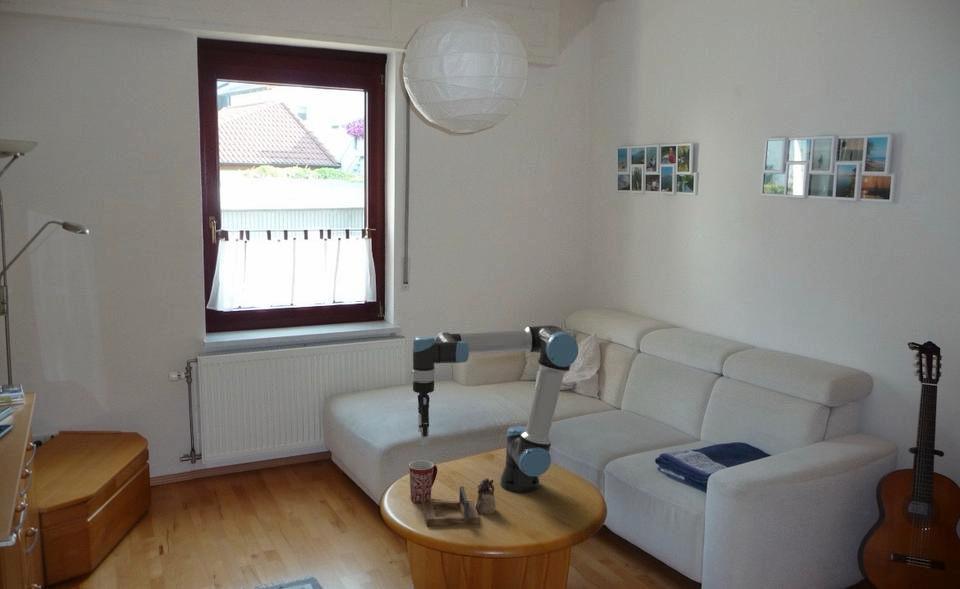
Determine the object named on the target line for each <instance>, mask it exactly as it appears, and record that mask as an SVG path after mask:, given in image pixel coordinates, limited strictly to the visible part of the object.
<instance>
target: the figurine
mask: <svg viewBox="0 0 960 589" xmlns="http://www.w3.org/2000/svg"><path fill="white" fill-rule="evenodd" d="M493 483H495V481H494V479H491V480H490V479H489V478H487V477H486V478H484V479H482V480H481V481H480V482H479V485H478V486H477V492H476V493H477V494H478V495H477V498H476V499H477V500H476V504H475V507H476V510H477V513H478V515H492V514H494V513H495V511H496V500H495V499H496V498H495V494H494V492H495V485H494V484H493Z"/></svg>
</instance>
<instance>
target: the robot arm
mask: <svg viewBox="0 0 960 589" xmlns="http://www.w3.org/2000/svg"><path fill="white" fill-rule="evenodd" d="M412 344H413V345H412V346H413V347H412V371H411V374H412V379H413V381H412V391H413V392H414V393H417V394H418V395H417V404H418V405H417V406H418V407H417V410H418V411H417V412H418V421H417V422H418V423H417V424H418V430H417V432H418V433H420V446H426V445H427V446H428V445H429V444H430V442H429V441H430V438H429V437H430V434H429V432H430V430H429V429H430V412H429V408H430V395H429V394H431V393H432V392H434V391H435V375H436V374H435V364H459V363H460V364H462V363H467V362H468V360H469V358H470V357H469V355H470V354H477V353H478V354H479V353H480V354H481V353H491V352H492V353H493V352H495V353H497V352H511V351H525V352H527V353H538V354H539V358H538V362H537V364H538V365H539V367H540V371H539V376H538V379H537V383H536V384H537V385H536V388H535V393H534V397H533V400H532V404H531V408H530V413H529V415H528V416H529V417H528V420H527V425H515V426H511V427H508V428H507V430H506V431H507V432H506V434H505V435H506V436H505V437H506V442H505V443H506V447H505V448H506V449H505V450H506V451H505V465H504V468H503V470H502V473H501V476H500V482H499V484H500V486H501V487H502V488H503V489H504V490H507V491H509V492H514V493H529V492H530V491H531V492H534V491H536V490H538V489H539V488H540V478H539V476H542V475H543V474H545V473H546V472H547V471H548V470H549V468H550V466H551V464H552V463H551V462H552V459H551V457H552V456H551V454H550V449H551V445H552V439H551V437H550V431H551V428H552V423H553V421H554V415H555V412H556V408H557V404H558V400H559V396H560V392H561V387H562V383H563V380H564V375H565V374H566V373H568V372H569V371H570V370H571V369H570V368H571V366H572V364H573V363H575V361H576V360H577V358H578V355H579V345H578V342H577V340H576V339H575V338H574V336H573V335H572V334H570V333H569V332H567V331H565V330H563V328H561V327H559V326H556V325H538V326H537V325H535V326H526V327H524V329H517V330H500V331H499V330H496V331H479V332H467V333H466V332H465V333H464V332H463V333H451V332H450V333H449V332H446V331H441V332H439V333H438V334H437V335H436V336H435V337H433V336H430V335H419V336H416V337H414V339H413V343H412ZM538 487H539V488H538ZM537 488H538V489H537Z"/></svg>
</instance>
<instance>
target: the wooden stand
mask: <svg viewBox="0 0 960 589" xmlns="http://www.w3.org/2000/svg"><path fill="white" fill-rule="evenodd" d="M422 505H423V506H422V508H423V512H424V513H423V514H424V520H425V524H426V525H425V526H426V527H439V526H443V527H444V526H466V525H467V526H469V525H472V526H474V525H480V516H479V513H477V510H476V504H475V501H474V500H468V497H467V494H466V491H465V486H459V500H456V501H455V500H454V501H453V500H452V501H451V500H450V501H449V500H447V501H429V502H424V503H422ZM451 510H452V511H453V510H457V511H458V510H460V514H461V515H458V516H455V515H454V516H435V511H451Z"/></svg>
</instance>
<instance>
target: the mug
mask: <svg viewBox="0 0 960 589" xmlns="http://www.w3.org/2000/svg"><path fill="white" fill-rule="evenodd" d="M408 467H409V485H410V486H409V487H410V490H409V491H410V500H411V502H412V503H415V504H422V505H423V503H424V502H431V497H432V487H434V483H435V481H436V478H437V475H438V466H437V465H436V464H434V463H433V462H432V461H429V460H422V459H420V460H415V461H412V462H409V464H408Z"/></svg>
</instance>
